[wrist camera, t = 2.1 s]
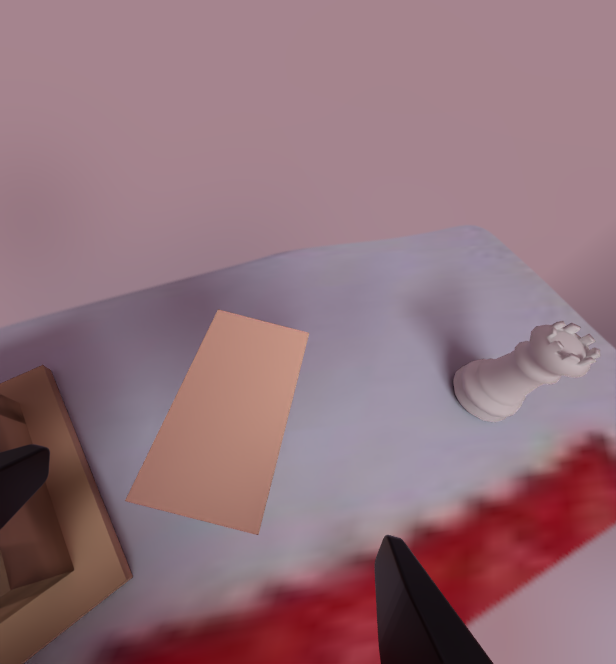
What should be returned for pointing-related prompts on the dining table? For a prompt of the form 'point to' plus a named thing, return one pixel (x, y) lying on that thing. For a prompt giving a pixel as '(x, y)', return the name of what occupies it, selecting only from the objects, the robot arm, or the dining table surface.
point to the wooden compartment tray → (51, 527)
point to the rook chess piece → (523, 371)
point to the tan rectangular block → (225, 425)
